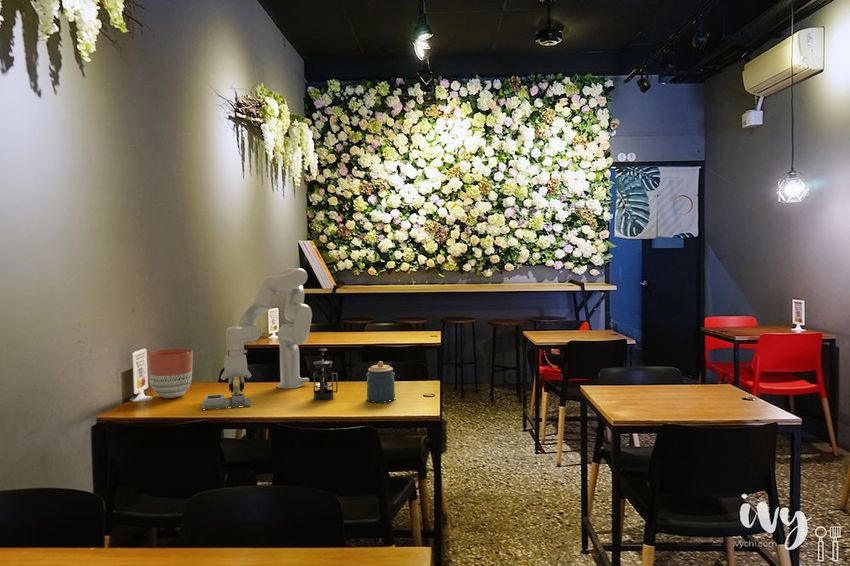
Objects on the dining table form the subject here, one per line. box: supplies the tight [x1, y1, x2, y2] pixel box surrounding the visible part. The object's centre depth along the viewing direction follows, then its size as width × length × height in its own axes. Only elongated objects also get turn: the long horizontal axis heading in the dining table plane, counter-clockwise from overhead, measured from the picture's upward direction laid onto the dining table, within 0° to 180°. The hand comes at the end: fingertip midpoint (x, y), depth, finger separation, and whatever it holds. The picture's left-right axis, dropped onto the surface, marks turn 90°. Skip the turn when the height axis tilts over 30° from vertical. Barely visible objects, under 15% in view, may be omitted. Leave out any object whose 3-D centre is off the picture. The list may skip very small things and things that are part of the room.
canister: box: [365, 360, 396, 403], centre depth 264 cm, size 13×13×18 cm
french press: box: [312, 348, 339, 401], centre depth 267 cm, size 12×9×23 cm
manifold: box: [201, 392, 251, 411], centre depth 257 cm, size 20×14×4 cm
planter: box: [147, 348, 194, 399], centre depth 273 cm, size 20×20×21 cm
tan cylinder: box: [231, 377, 242, 395], centre depth 273 cm, size 4×4×10 cm
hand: (236, 391), depth 273 cm, fingers closed on tan cylinder, 4 cm apart
